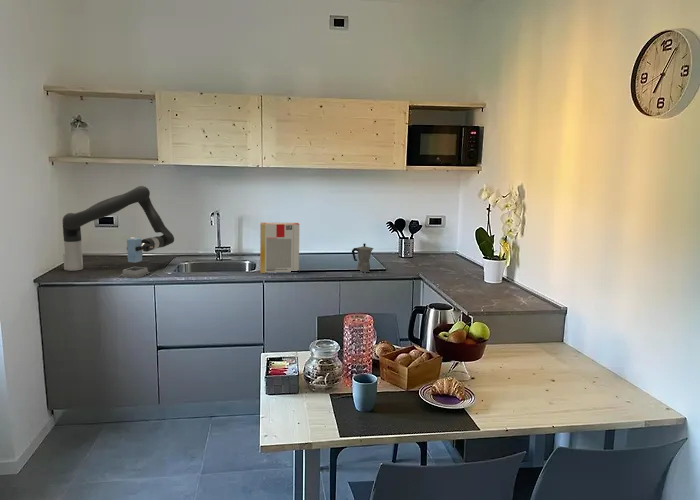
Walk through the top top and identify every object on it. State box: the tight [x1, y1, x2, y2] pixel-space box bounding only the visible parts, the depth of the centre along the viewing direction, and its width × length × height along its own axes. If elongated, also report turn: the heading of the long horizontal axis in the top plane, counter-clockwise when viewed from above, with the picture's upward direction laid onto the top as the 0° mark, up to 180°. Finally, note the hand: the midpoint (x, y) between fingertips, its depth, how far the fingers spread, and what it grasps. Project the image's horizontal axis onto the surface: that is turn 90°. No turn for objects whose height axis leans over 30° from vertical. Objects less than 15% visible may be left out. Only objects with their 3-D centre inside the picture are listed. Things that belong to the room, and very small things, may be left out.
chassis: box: [120, 266, 151, 279], centre depth 311 cm, size 11×12×4 cm
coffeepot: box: [351, 242, 374, 271], centre depth 337 cm, size 15×9×18 cm, turn 119°
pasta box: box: [259, 222, 300, 274], centre depth 328 cm, size 23×8×30 cm, turn 100°
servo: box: [126, 236, 144, 264], centre depth 309 cm, size 5×9×14 cm, turn 166°
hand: (131, 249), depth 306 cm, fingers closed on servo, 5 cm apart
